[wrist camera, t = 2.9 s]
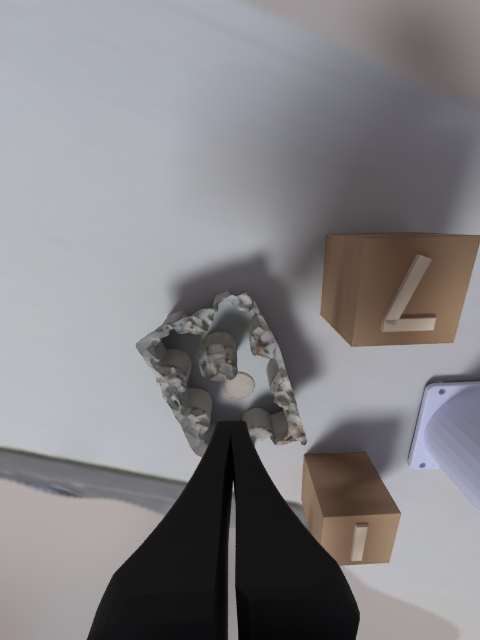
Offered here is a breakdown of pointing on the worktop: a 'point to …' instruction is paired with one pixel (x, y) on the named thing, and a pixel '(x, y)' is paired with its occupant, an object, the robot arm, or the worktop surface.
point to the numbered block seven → (396, 286)
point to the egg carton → (222, 376)
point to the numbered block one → (349, 508)
